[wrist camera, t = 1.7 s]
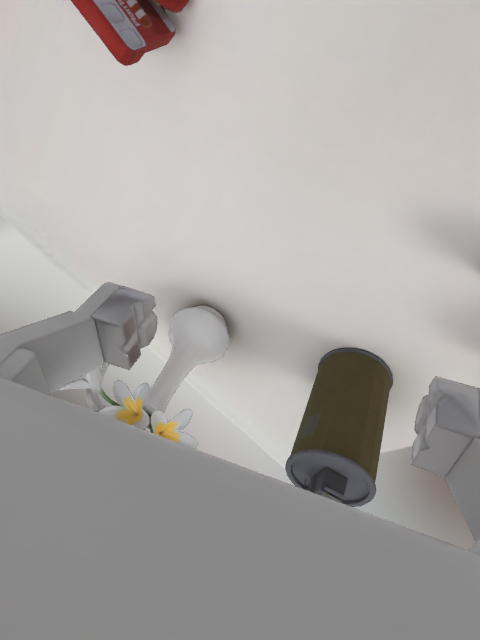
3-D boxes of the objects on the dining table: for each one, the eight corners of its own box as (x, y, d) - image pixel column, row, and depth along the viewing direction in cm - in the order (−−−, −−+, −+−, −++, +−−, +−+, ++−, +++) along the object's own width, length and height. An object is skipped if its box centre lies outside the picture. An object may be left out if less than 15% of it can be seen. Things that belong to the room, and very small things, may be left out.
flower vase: (172, 255, 61) (55, 385, 43) (274, 336, 64) (202, 489, 46) (139, 304, 70) (31, 428, 53) (229, 373, 73) (155, 512, 55)
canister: (340, 335, 59) (302, 461, 45) (408, 373, 59) (392, 510, 45) (305, 377, 67) (263, 496, 53) (365, 411, 67) (339, 538, 53)
